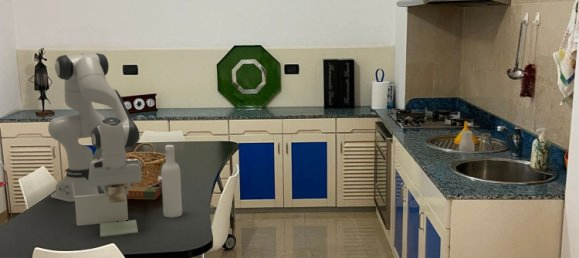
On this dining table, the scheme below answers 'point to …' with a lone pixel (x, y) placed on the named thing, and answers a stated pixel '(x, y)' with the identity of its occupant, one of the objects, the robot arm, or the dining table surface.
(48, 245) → the dining table surface
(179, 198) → the bottle
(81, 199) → the screen
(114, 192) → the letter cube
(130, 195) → the carton
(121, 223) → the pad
